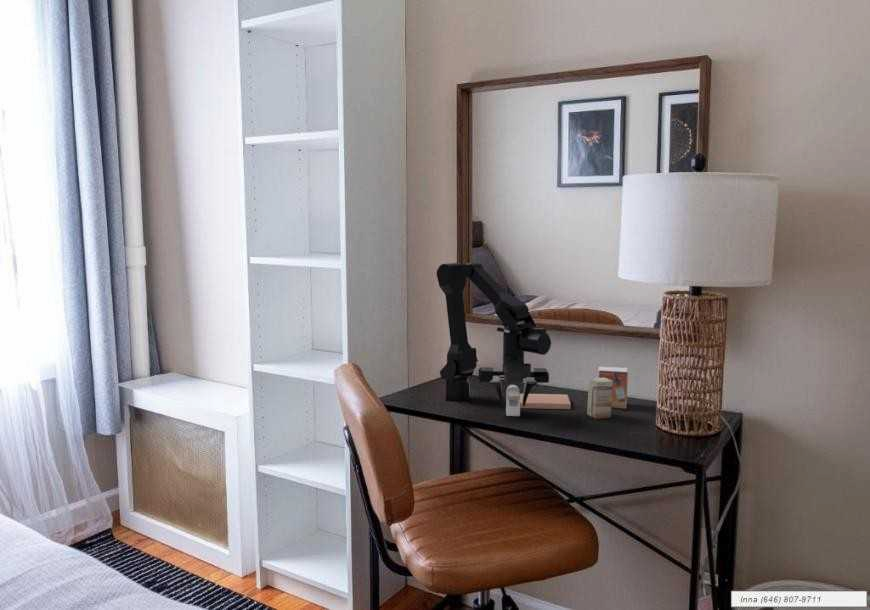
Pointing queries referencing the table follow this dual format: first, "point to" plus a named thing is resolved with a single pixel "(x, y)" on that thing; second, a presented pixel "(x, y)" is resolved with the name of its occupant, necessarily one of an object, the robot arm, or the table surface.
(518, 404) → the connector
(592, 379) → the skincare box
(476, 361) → the robot arm
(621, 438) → the table surface
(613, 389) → the small box
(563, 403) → the terracotta tile
